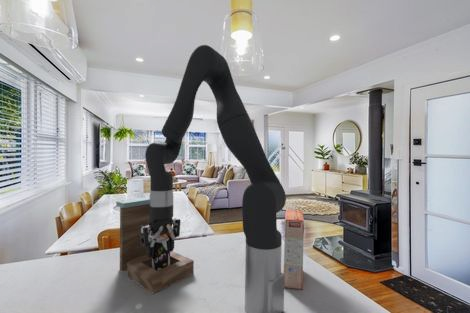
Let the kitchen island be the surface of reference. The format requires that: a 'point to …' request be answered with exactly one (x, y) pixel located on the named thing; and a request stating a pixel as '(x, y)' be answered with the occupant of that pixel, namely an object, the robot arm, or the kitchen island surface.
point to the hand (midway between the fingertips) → (161, 253)
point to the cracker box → (293, 249)
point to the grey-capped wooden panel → (132, 229)
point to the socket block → (159, 272)
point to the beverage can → (161, 253)
